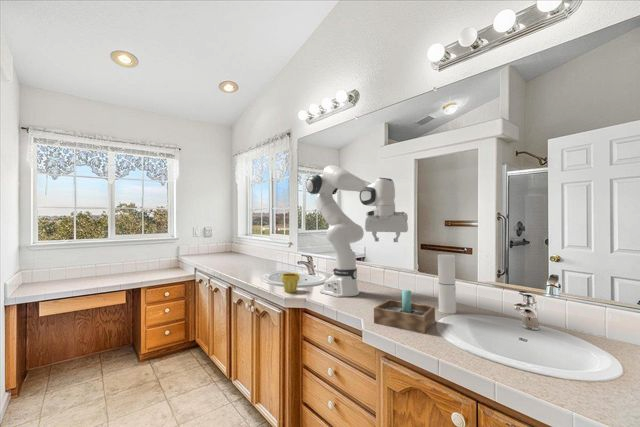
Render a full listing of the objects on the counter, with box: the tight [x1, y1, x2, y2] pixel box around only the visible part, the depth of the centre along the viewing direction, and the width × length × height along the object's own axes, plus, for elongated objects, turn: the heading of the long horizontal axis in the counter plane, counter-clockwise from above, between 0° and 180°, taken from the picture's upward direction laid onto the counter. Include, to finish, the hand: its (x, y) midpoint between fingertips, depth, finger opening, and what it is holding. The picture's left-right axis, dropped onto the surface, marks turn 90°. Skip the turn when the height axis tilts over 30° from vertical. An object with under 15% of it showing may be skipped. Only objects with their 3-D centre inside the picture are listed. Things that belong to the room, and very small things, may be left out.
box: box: [373, 299, 436, 334], centre depth 122 cm, size 20×15×6 cm
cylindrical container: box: [437, 254, 457, 315], centre depth 135 cm, size 7×7×25 cm
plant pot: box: [281, 272, 300, 294], centre depth 176 cm, size 10×10×10 cm
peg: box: [401, 289, 412, 314], centre depth 124 cm, size 4×4×12 cm
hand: (386, 241), depth 140 cm, fingers open, 8 cm apart
